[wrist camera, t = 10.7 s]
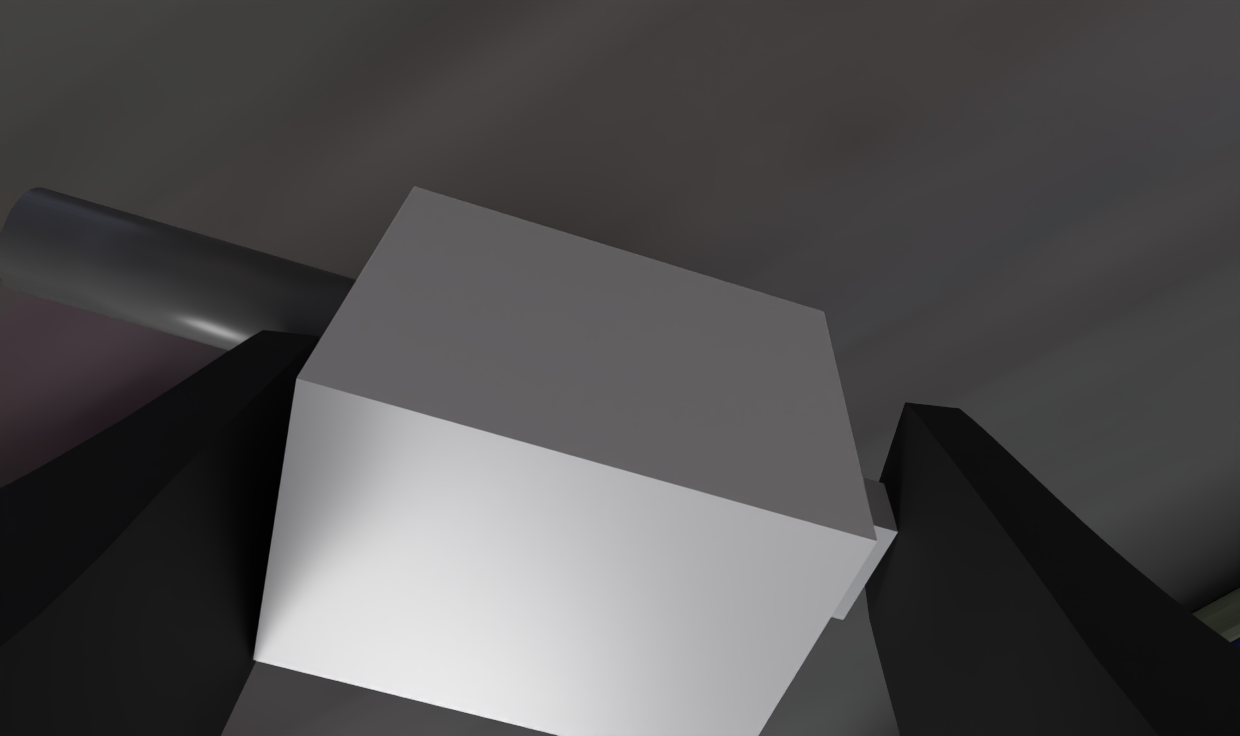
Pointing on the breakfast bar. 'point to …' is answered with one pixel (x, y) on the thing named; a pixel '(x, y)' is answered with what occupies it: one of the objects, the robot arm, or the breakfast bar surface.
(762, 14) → the breakfast bar surface
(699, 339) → the plug
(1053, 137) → the breakfast bar surface
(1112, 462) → the breakfast bar surface
